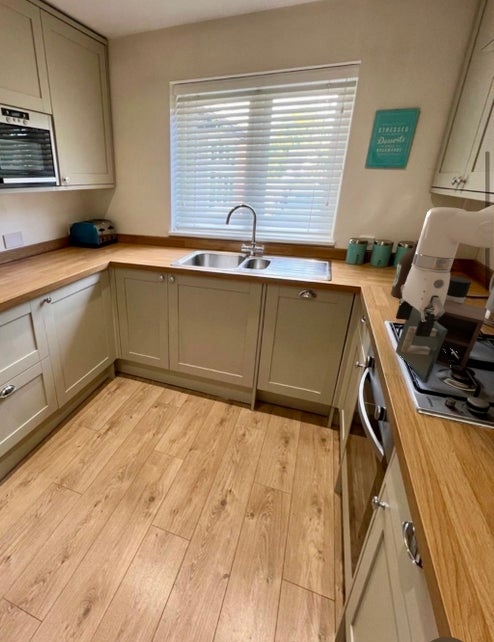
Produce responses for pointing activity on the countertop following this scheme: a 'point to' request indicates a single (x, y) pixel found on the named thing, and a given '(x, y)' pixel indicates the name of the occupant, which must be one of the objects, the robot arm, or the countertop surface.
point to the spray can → (458, 289)
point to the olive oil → (403, 271)
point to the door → (420, 346)
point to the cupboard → (459, 330)
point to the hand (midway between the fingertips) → (411, 327)
